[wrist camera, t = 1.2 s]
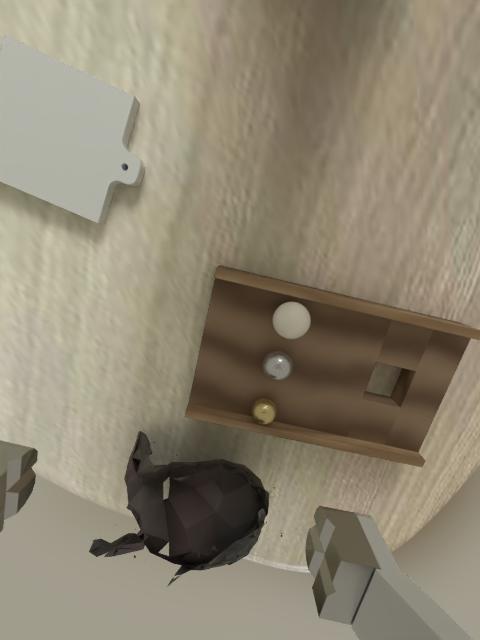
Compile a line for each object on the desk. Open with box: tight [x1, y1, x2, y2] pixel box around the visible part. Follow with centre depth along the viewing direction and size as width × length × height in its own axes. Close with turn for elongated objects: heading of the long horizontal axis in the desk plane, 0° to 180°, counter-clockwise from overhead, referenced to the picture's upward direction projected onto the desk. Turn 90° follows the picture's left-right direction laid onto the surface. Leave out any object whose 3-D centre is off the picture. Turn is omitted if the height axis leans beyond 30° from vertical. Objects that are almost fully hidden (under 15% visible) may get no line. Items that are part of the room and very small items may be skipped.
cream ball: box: [273, 302, 311, 339], centre depth 31 cm, size 4×4×4 cm
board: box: [185, 265, 480, 467], centre depth 35 cm, size 18×30×4 cm, turn 77°
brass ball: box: [251, 398, 277, 424], centre depth 34 cm, size 3×3×3 cm
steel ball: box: [262, 351, 293, 381], centre depth 33 cm, size 3×3×3 cm
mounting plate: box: [0, 34, 145, 224], centre depth 30 cm, size 18×13×2 cm
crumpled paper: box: [89, 431, 282, 586], centre depth 34 cm, size 14×15×20 cm
